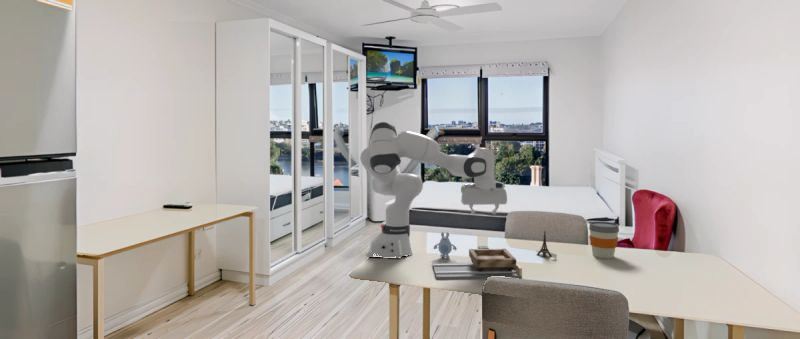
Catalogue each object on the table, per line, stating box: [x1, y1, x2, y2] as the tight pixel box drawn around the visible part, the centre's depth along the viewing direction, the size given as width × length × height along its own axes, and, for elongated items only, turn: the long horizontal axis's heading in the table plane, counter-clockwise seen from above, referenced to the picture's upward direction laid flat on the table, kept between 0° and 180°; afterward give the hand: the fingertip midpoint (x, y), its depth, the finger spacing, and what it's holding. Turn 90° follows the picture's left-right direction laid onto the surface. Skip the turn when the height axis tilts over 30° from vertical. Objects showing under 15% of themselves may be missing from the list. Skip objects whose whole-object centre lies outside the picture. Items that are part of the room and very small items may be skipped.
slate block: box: [477, 245, 490, 249], centre depth 195 cm, size 4×4×6 cm
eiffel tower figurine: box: [535, 230, 557, 262], centre depth 201 cm, size 15×10×13 cm
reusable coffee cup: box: [588, 221, 620, 259], centre depth 200 cm, size 13×12×15 cm
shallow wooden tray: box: [468, 248, 517, 272], centre depth 179 cm, size 16×16×6 cm
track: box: [431, 262, 523, 280], centre depth 179 cm, size 34×18×4 cm, turn 91°
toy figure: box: [433, 231, 458, 259], centre depth 199 cm, size 11×6×12 cm, turn 77°
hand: (483, 214), depth 194 cm, fingers open, 8 cm apart
